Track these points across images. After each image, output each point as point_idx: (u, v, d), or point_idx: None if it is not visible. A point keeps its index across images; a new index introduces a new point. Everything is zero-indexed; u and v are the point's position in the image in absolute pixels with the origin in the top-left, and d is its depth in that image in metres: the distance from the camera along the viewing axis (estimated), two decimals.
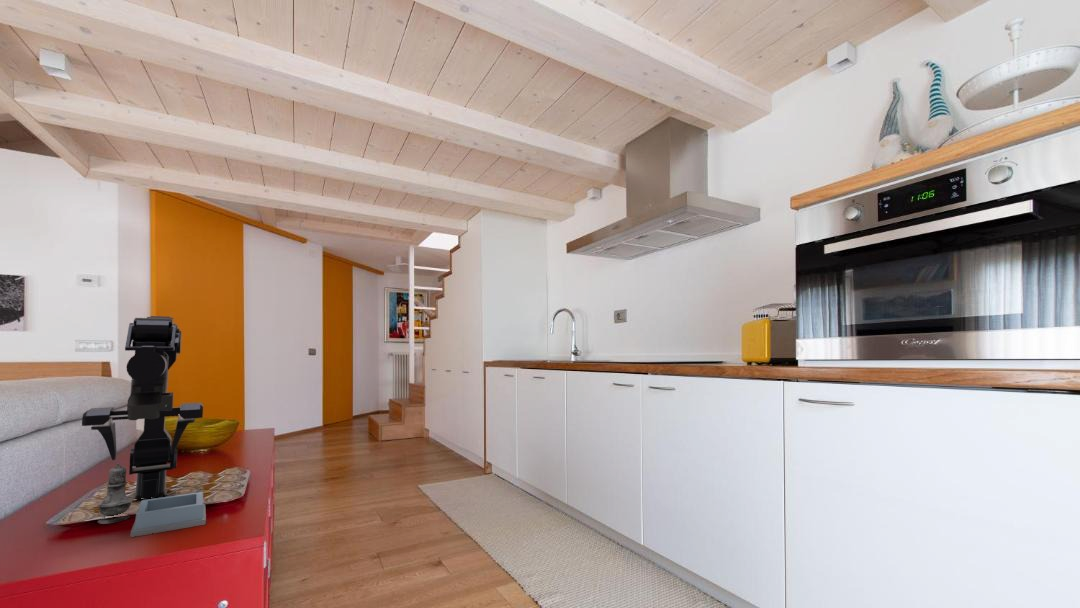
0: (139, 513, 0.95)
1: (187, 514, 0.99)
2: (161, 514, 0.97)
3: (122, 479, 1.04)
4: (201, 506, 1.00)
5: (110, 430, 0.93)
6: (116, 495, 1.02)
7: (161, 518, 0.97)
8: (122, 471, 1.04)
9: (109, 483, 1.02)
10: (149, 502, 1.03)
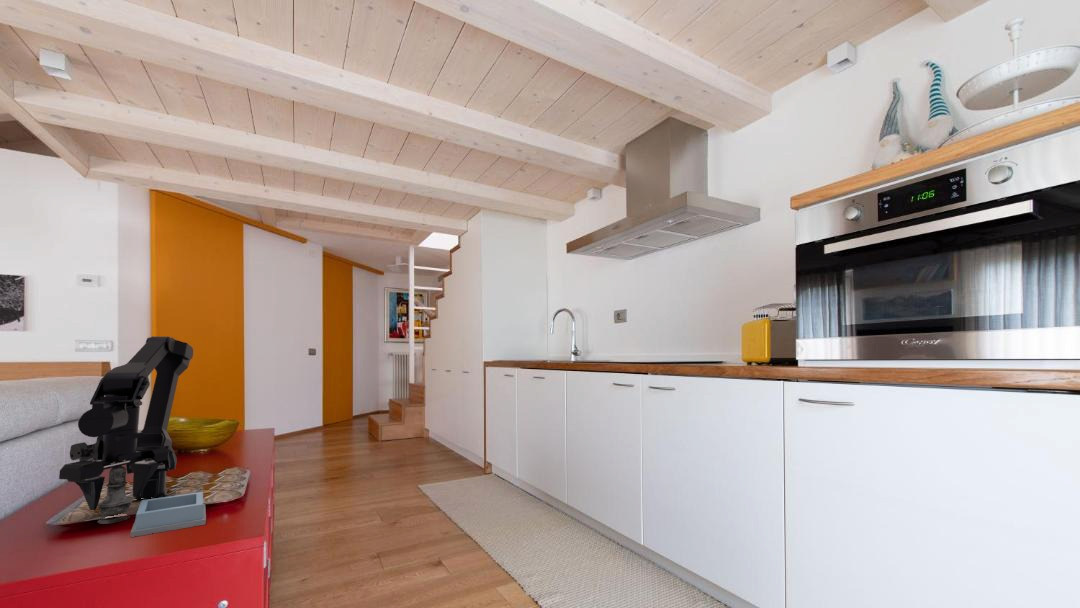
0: (139, 513, 0.95)
1: (187, 514, 0.99)
2: (161, 514, 0.97)
3: (122, 479, 1.04)
4: (201, 506, 1.00)
5: None
6: (116, 495, 1.02)
7: (161, 518, 0.97)
8: (122, 471, 1.04)
9: (109, 483, 1.02)
10: (149, 502, 1.03)
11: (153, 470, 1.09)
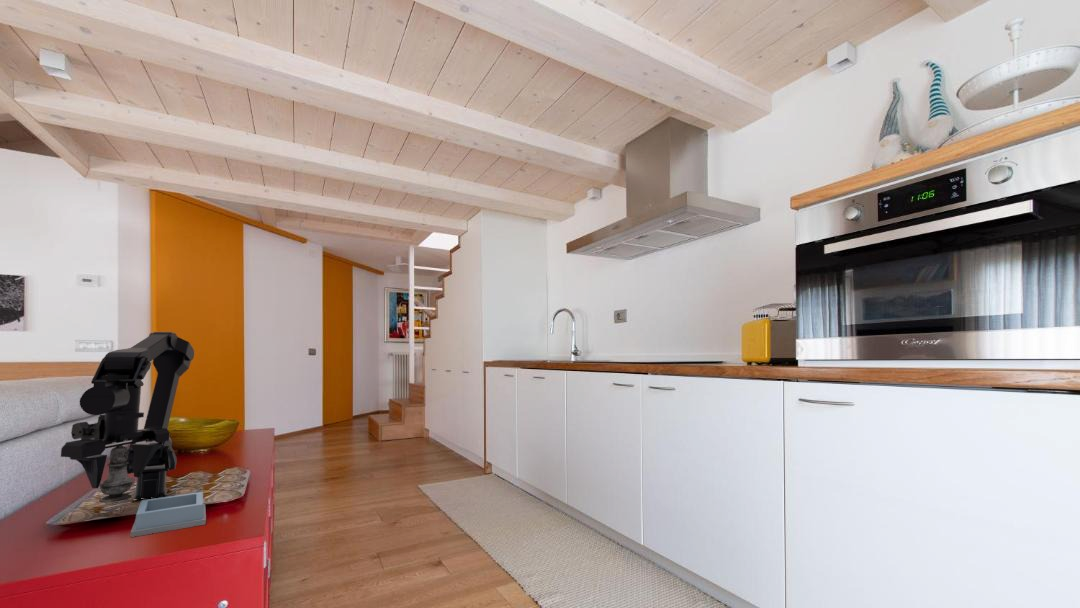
0: (139, 513, 0.95)
1: (187, 514, 0.99)
2: (161, 514, 0.97)
3: (124, 459, 1.04)
4: (201, 506, 1.00)
5: None
6: (118, 474, 1.03)
7: (161, 518, 0.97)
8: (124, 451, 1.04)
9: (111, 463, 1.03)
10: (149, 502, 1.03)
11: (154, 450, 1.09)
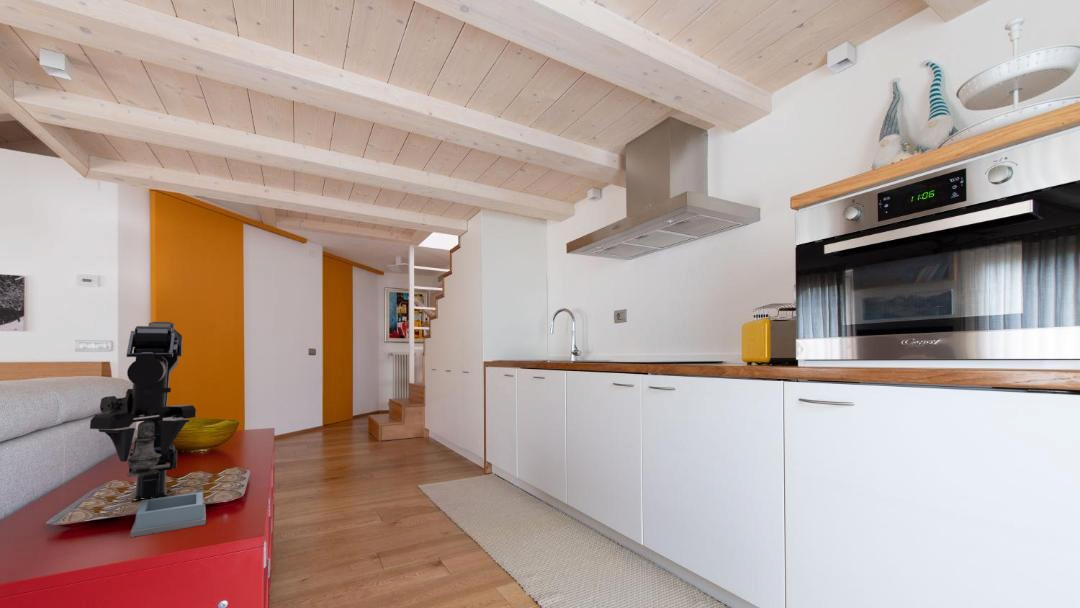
0: (139, 513, 0.95)
1: (187, 514, 0.99)
2: (161, 514, 0.97)
3: (151, 433, 1.03)
4: (201, 506, 1.00)
5: None
6: (146, 449, 1.02)
7: (161, 518, 0.97)
8: (151, 425, 1.03)
9: (138, 437, 1.02)
10: (149, 502, 1.03)
11: (181, 427, 1.09)
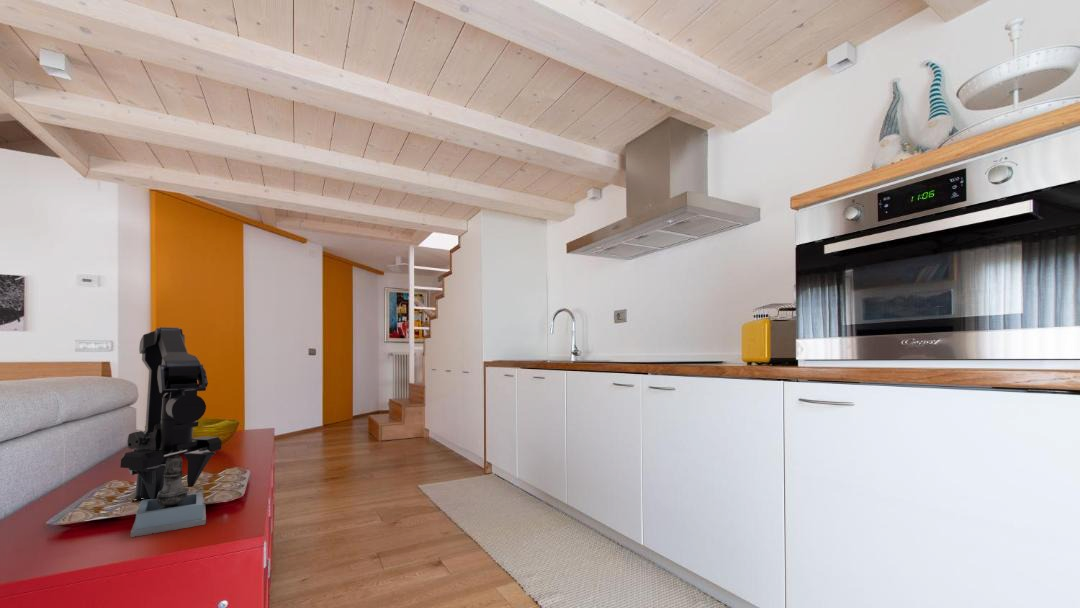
0: (139, 513, 0.95)
1: (187, 514, 0.99)
2: (161, 514, 0.97)
3: (179, 469, 1.02)
4: (201, 506, 1.00)
5: None
6: (174, 484, 1.01)
7: (161, 518, 0.97)
8: (179, 461, 1.02)
9: (167, 473, 1.01)
10: (149, 502, 1.03)
11: (207, 460, 1.08)
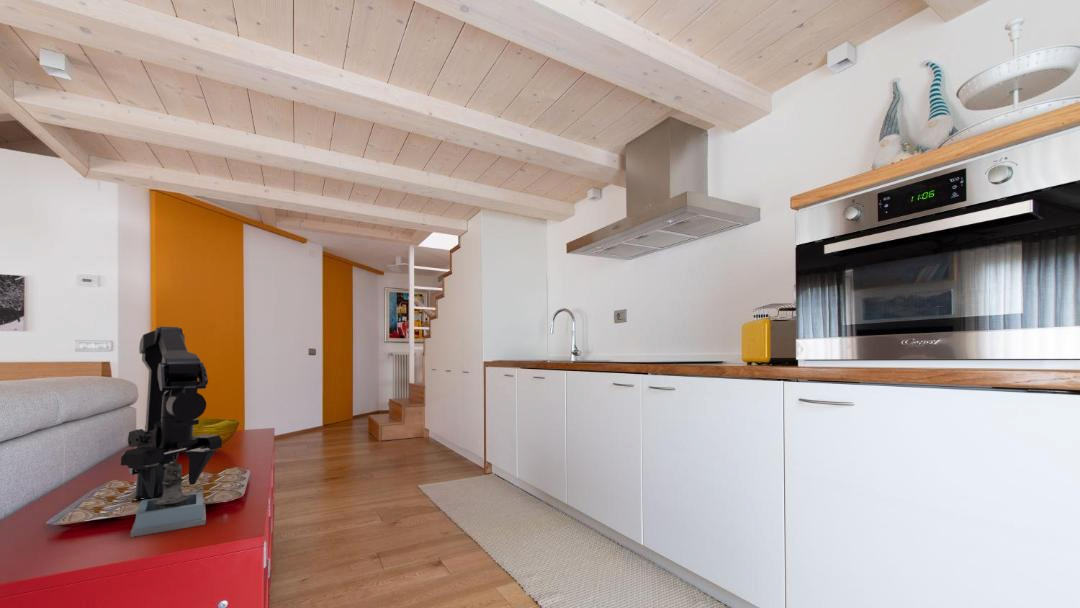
0: (139, 513, 0.95)
1: (187, 514, 0.99)
2: (161, 514, 0.97)
3: (173, 477, 1.01)
4: (201, 506, 1.00)
5: None
6: (167, 492, 1.01)
7: (161, 518, 0.97)
8: (173, 469, 1.01)
9: (165, 479, 1.02)
10: (149, 502, 1.03)
11: (209, 458, 1.08)
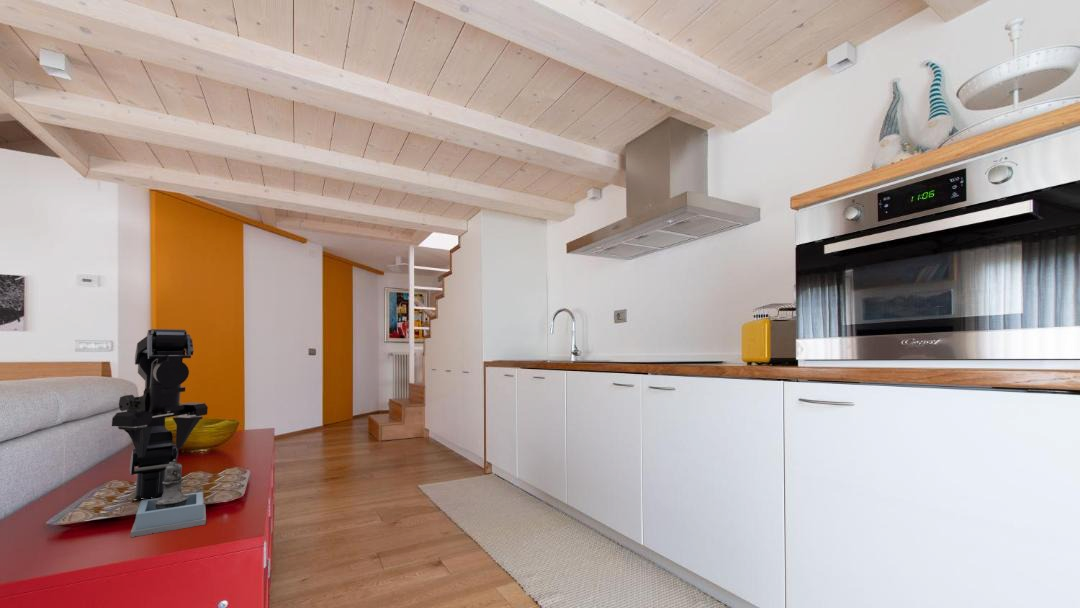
0: (139, 513, 0.95)
1: (187, 514, 0.99)
2: (161, 514, 0.97)
3: (173, 477, 1.01)
4: (201, 506, 1.00)
5: None
6: (167, 492, 1.01)
7: (161, 518, 0.97)
8: (173, 469, 1.01)
9: (165, 479, 1.02)
10: (149, 502, 1.03)
11: (195, 423, 1.16)
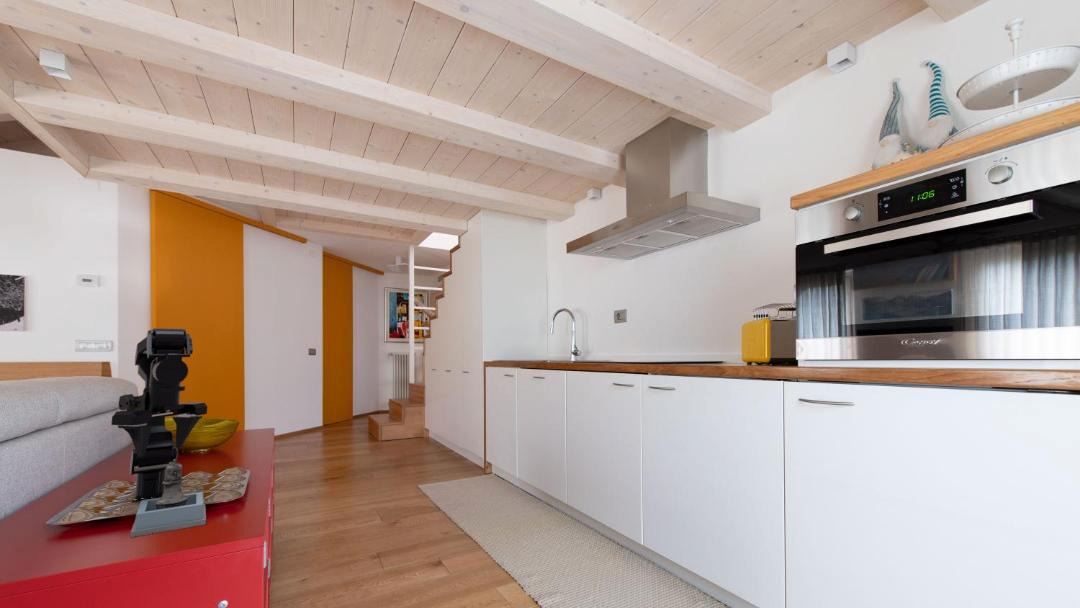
0: (139, 513, 0.95)
1: (187, 514, 0.99)
2: (161, 514, 0.97)
3: (173, 477, 1.01)
4: (201, 506, 1.00)
5: None
6: (167, 492, 1.01)
7: (161, 518, 0.97)
8: (173, 469, 1.01)
9: (165, 479, 1.02)
10: (149, 502, 1.03)
11: (194, 423, 1.16)
